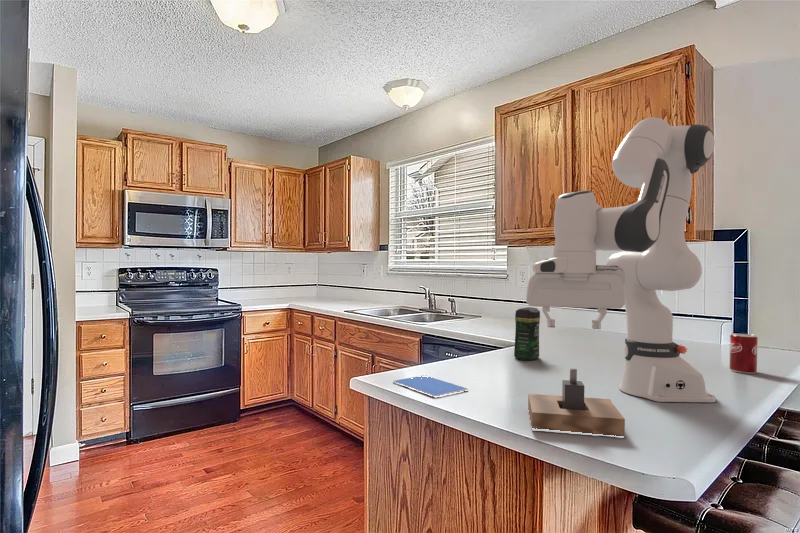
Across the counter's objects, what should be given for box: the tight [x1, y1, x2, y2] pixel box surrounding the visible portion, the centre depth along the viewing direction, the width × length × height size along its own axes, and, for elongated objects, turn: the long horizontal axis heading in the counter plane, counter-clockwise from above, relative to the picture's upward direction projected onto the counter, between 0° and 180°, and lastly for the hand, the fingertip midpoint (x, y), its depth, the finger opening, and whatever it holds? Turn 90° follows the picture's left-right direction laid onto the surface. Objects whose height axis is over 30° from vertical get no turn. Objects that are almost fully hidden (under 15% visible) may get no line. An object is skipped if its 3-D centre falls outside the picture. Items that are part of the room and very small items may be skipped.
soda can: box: [729, 332, 759, 375], centre depth 155 cm, size 7×7×12 cm
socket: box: [527, 393, 626, 437], centre depth 104 cm, size 18×14×4 cm
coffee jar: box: [513, 306, 541, 361], centre depth 173 cm, size 10×8×19 cm
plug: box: [561, 368, 585, 410], centre depth 104 cm, size 4×4×12 cm
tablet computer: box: [392, 375, 469, 396], centre depth 133 cm, size 19×13×1 cm, turn 36°
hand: (573, 328), depth 104 cm, fingers open, 8 cm apart
